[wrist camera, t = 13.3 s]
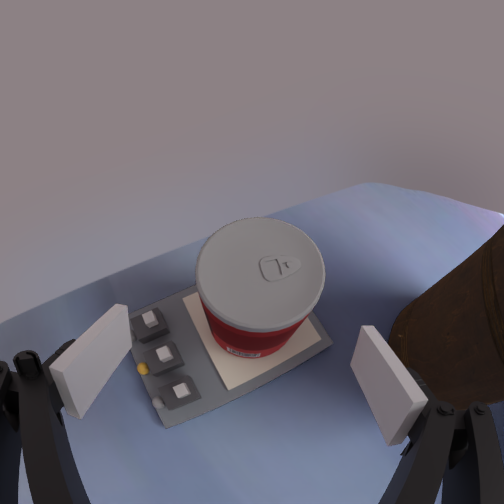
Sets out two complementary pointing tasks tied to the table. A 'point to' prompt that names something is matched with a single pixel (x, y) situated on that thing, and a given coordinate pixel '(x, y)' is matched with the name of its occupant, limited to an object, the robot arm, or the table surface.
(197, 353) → the breaker board
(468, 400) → the wooden container
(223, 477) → the table surface
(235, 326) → the canned food
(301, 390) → the table surface
